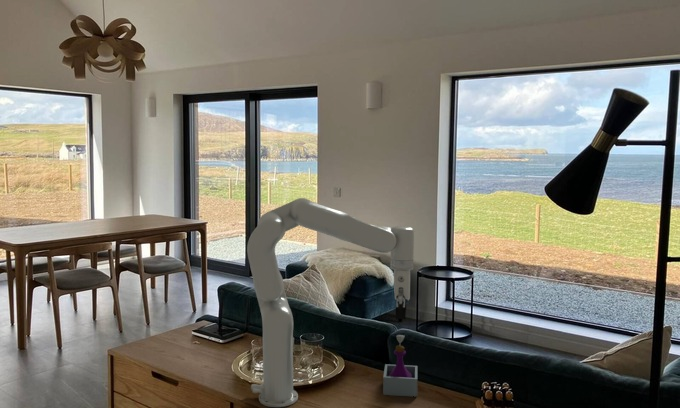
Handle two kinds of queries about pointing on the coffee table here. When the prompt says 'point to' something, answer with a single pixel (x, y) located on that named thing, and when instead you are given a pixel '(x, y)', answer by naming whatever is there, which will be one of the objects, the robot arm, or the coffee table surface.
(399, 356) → the perfume bottle
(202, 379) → the coffee table surface
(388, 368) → the walled box
